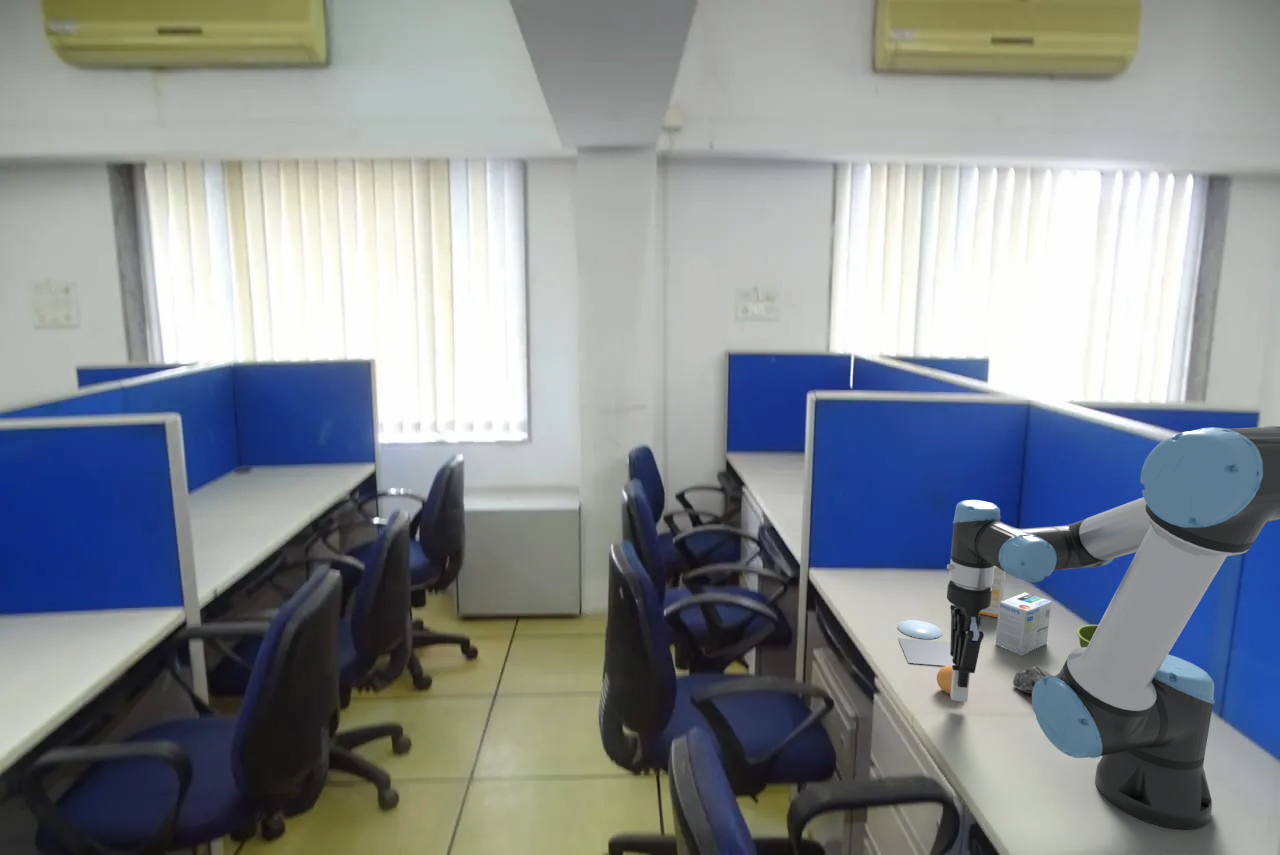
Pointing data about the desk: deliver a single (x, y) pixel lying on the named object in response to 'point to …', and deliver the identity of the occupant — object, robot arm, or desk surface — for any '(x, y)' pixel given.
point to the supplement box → (996, 593)
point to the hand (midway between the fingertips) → (958, 698)
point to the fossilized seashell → (1029, 678)
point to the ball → (945, 678)
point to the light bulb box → (1023, 623)
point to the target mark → (927, 652)
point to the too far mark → (919, 629)
